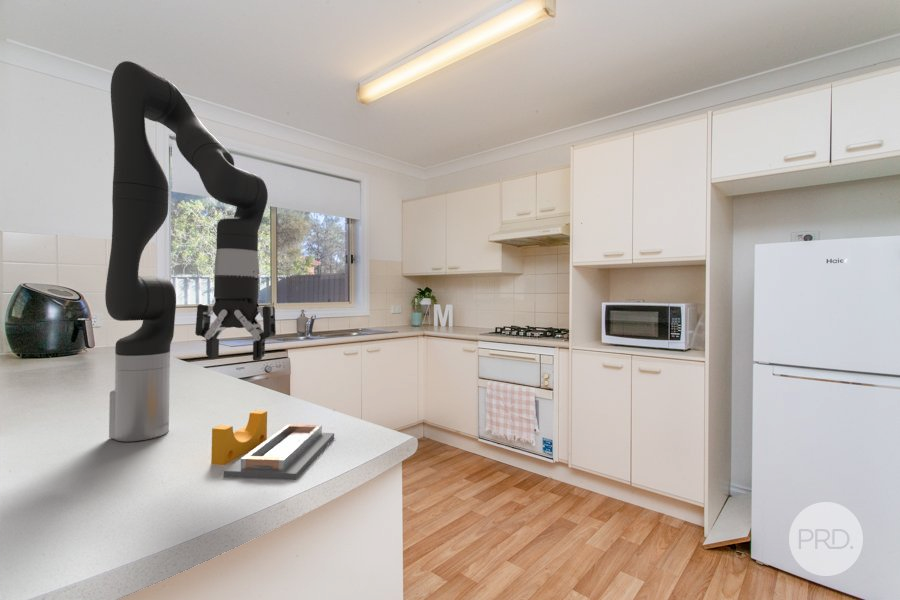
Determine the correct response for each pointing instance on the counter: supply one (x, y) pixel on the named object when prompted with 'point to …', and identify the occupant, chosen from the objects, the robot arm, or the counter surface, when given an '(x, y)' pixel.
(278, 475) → the mounting board
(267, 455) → the long hollow rectangular frame
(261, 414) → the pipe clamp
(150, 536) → the counter surface
